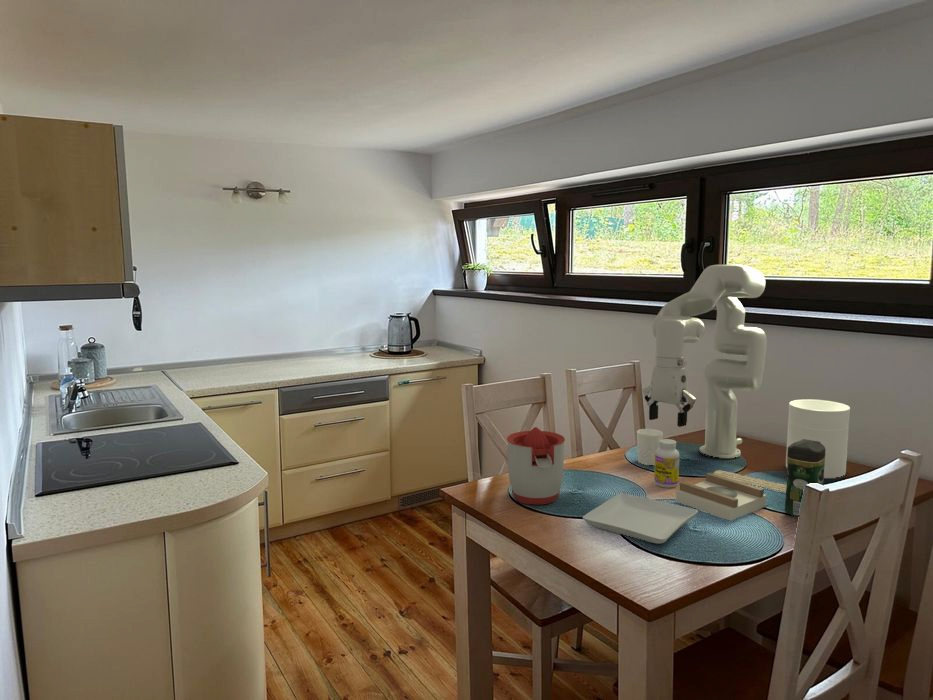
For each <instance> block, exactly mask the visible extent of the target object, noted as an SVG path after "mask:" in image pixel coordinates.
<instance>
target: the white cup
mask: <svg viewBox="0 0 933 700" xmlns="http://www.w3.org/2000/svg"><path fill="white" fill-rule="evenodd" d="M663 433H664V432H663V431H661V430H659V429H655V428H642V429H638V430H636V447H637V449H636V450H637V451H636V452H637V463H639V464H640V463H641V464H640V465H643V464H644V466H649V465H653V466H655V451H656V450H657V449H658V448H660V446H659V440H661V439H663Z"/></svg>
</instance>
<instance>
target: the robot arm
mask: <svg viewBox="0 0 933 700" xmlns="http://www.w3.org/2000/svg"><path fill="white" fill-rule="evenodd" d="M765 288H766V278H765V276H764V274H763V273H762V272H761V271H759V270H758V269H755V268H753V267H751V266H748V265H745V264H744V265H743V264H713V265H708V266H706V268H704V269H703V271H702V273H701V274H700V275H699V277H698V278H697V280H696V281H695V283H694V285H693V286H692V287H691V289H690V290H689V291H688V292H686V293H683V294H681V295H680V296H679V295H678V297H676V298H674V299H672V300H670V301H668V302H667V303H665V305H664V306H662V307H661V309H660V311H659V312H658V313H657V315H656V316H655V318H654V321H653V324H652V329H651V330H652V334H653V337H654V338H655V365H654V366H653V369H652V371H651V372H652V373H651V377H650V386H646V387H645V388H642V393H643V396H644V400H645V402H646V403H647V404H646V405H647V406H648V418H649V420H650V421H653V420H657V419H659V405H658V403H663V404H669V405H674V406H676V408H677V409H678V412H677V422H676V425H677V427H679V428H681V427H685V426H686V425H687V423H688V412H690V410H692V408H693V407H694V405H695V403H696V401H697V398H696V397H695V396H694V395H692V394H691V393H690V392H689V391H690V389H689V379H688V372H687V368H684V366H687V363H688V362H687V361H686V360H685V358H684V357H685V356H684V355H685V344H696V343H698V342H699V341H701V340H702V338H703V337H704V336H705V332H706V331H705V330H706V328H705V324H704V322H703V321H702V320H701V319H700V318H698V317H695V316H699V315H703V314H705V313H708V312H710V311H712V310H713V309H714V308H715V307H716V320H715V328H714V335H713V350H714V351H715V352H717V353H718V354H721V355H727V356H735V357H737V356H738V357H746V360H739V359H731V358H713V359H710V360H709V361H708V362H706V364H705V366H704V370H703V371H704V373H703V375H704V380H705V382H704V383H705V387H706V388H705V389H706V391H705V392H706V405H705V407H706V408H705V432H704V433H705V437H704V445H701V446H700V447H699V452H700V451H701V452H702V453H703V454H702V453H701V452H700V453H701V454H702V455H704V454H706V455H705V456H707V455H709V456H708V457H710V456H713V457H712V458H715V457H719V459H735V457H736V458H738V457H741V455H742V454H741V449H739V448H738V447H737V446H738V445H741V444H742V443H743V438H741V437H737V428H738V427H737V426H738V406H739V404H738V399H737V397H736V396H737V395H735V393H734V392H733V390H735V391H736V390H737V391H745V392H755V391H757V390H759V389H760V388H761V386H762V381H763V376H764V369H765V362H766V357H767V356H766V355H767V348H768V347H767V346H768V340H767V335H766V332H765V331H764V330H763V329H762V328H759V327H755V326H754V327H753V326H745V319H746V318H745V317H746V310H745V308H744V306H743V304H742V303H741V301H740V300H739V299H740V298H743V299H745V298H747V299H757V298H759V297H761V295H762V294H763V293H764V291H765ZM738 298H739V299H738Z"/></svg>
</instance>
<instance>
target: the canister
mask: <svg viewBox="0 0 933 700" xmlns="http://www.w3.org/2000/svg"><path fill="white" fill-rule="evenodd" d="M850 413H851V407H850V406H849V405H847V404H845V403H841V402H837V401H831V400H823V399H808V398H807V399H795V400H791V401H790V402H788V416H787V417H788V420H787V432H786V433H787V434H786V435H787V437H786V453H785V455H786V456H785V457H786V458H785V467H786V469H787V452H788V447H789V446H790V445H791V444H793V443H795V442H797V441H800V440H803V439H807V440H813V441H819V442H820V443H821V444H822V445H823V446H824V447H825V466H824V479H837V478H836V477H839V478H842V477H844V476H845V475H846V472H847V456H848V447H849V446H848V445H849V429H850V425H849V423H850V416H851V415H850ZM843 475H844V476H843ZM841 476H842V477H841Z"/></svg>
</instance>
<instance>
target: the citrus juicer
mask: <svg viewBox="0 0 933 700" xmlns="http://www.w3.org/2000/svg"><path fill="white" fill-rule="evenodd" d="M565 439H566V438H565V436H563V435H562V434H559V433H557V432H554V431H553V432H552V431H547V430H546V431H545V430H541V429H540V428H538V427H537V426H536V427H533V428H532V429H531V430H524V431H517V432H513V433H510V434H509V435H508V436H507V438H506V441H507V472H508V479H509V484H510V488H511V491H512V494H513V497H514V498H515V500H517V501H518V502H520V503H523V504H525V505H547V504H551V502H552V503H554V502H555V501H556V500H557V499H558V498H559V495H560V492H561V489H562V484H563V480H564V473H565V472H564V467H565V466H564V465H565V464H564V461H565V460H564V459H565V458H564V457H565V455H564V454H565V453H564V452H565V449H564V448H565V447H564V443H565V441H566V440H565ZM553 501H554V502H553Z"/></svg>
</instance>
